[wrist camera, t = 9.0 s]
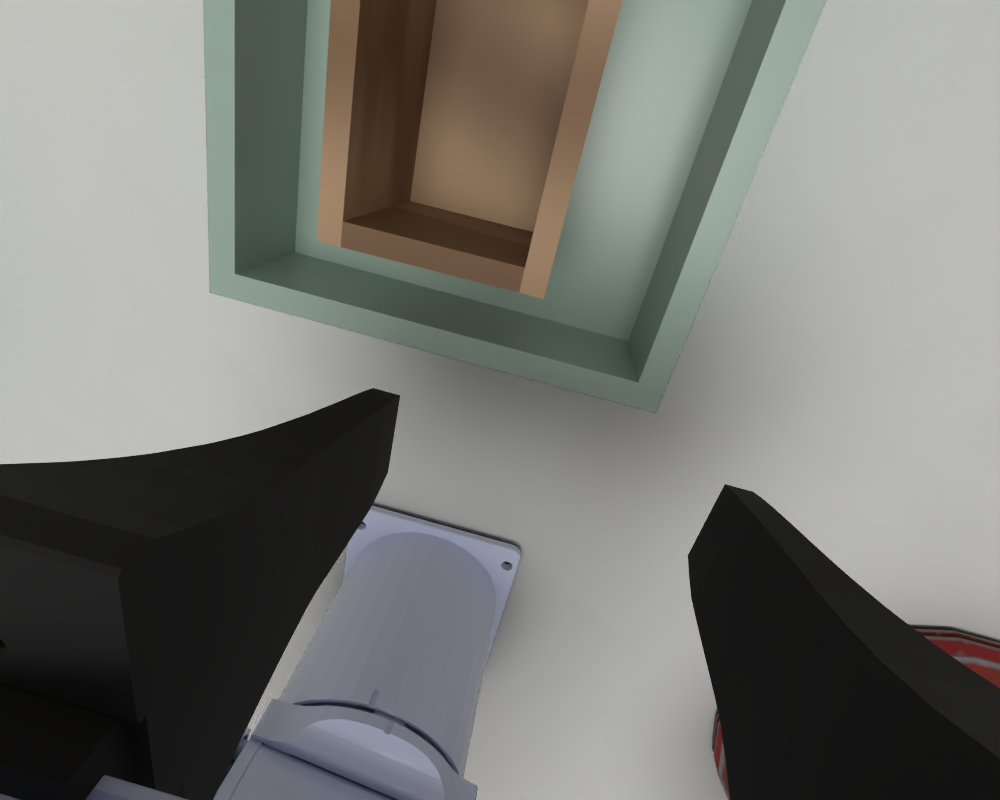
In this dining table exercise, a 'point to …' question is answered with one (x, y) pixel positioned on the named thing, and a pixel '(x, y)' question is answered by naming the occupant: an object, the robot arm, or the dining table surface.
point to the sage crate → (590, 214)
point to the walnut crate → (459, 130)
